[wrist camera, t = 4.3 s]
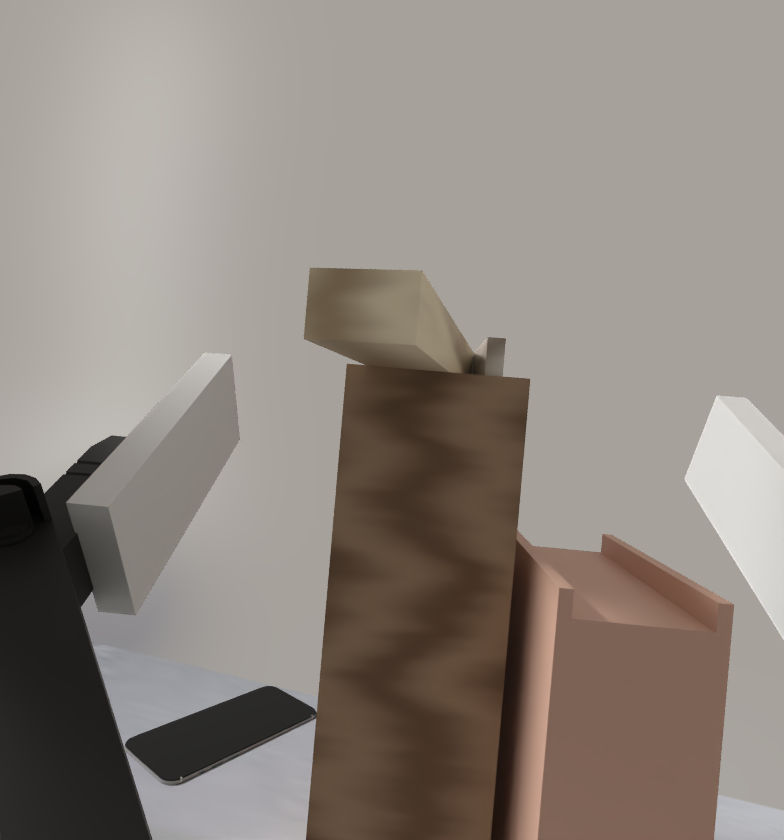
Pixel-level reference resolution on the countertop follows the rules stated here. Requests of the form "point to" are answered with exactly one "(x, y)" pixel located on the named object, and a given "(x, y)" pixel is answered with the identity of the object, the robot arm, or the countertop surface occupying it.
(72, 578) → the robot arm
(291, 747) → the countertop surface
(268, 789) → the countertop surface
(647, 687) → the pink rectangular box
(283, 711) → the smartphone
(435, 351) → the slat
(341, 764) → the stand
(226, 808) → the countertop surface
